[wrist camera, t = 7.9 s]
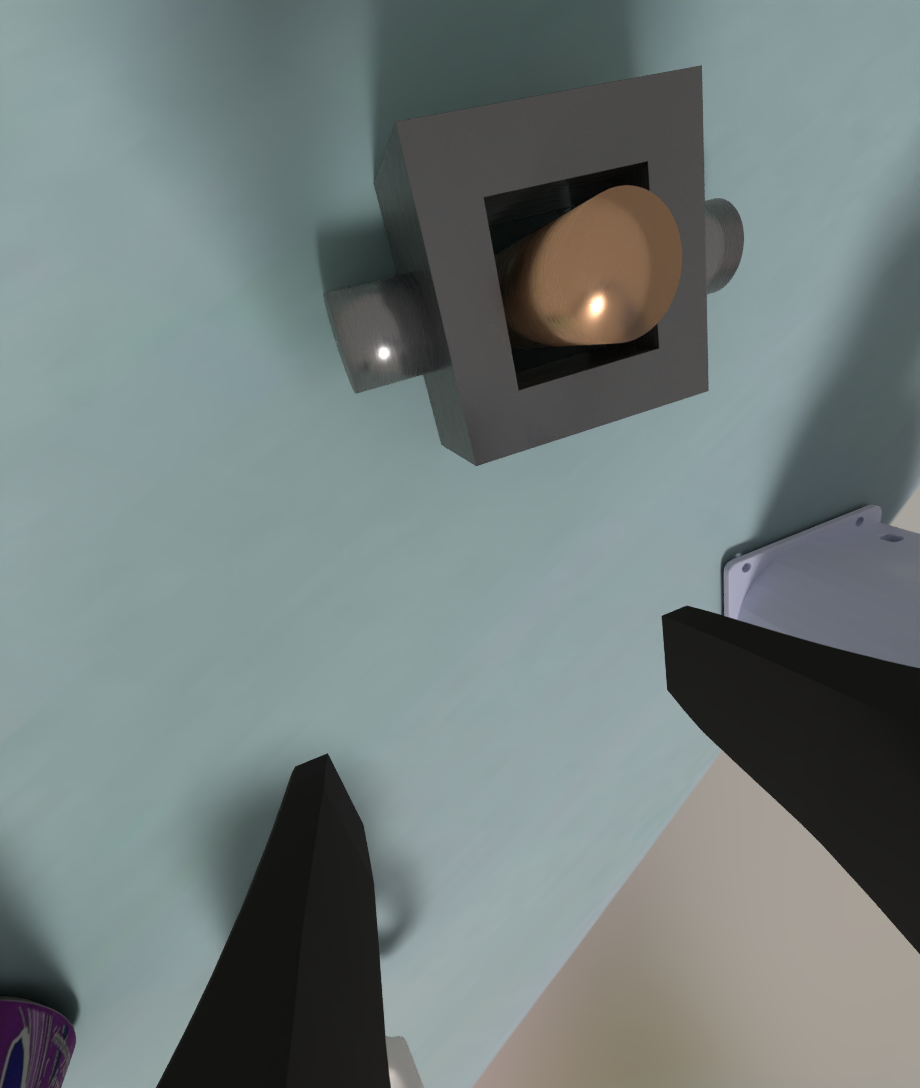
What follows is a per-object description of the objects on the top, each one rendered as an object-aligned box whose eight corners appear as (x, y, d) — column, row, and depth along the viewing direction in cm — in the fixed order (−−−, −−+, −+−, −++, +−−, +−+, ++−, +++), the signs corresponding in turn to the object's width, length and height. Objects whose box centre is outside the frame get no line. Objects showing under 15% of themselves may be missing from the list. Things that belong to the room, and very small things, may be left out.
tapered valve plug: (556, 237, 16) (680, 174, 11) (567, 338, 17) (683, 326, 12) (467, 255, 15) (552, 199, 10) (486, 358, 17) (570, 356, 11)
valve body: (676, 121, 16) (783, 50, 12) (685, 368, 19) (772, 370, 16) (289, 200, 14) (283, 143, 10) (375, 465, 17) (393, 492, 13)
